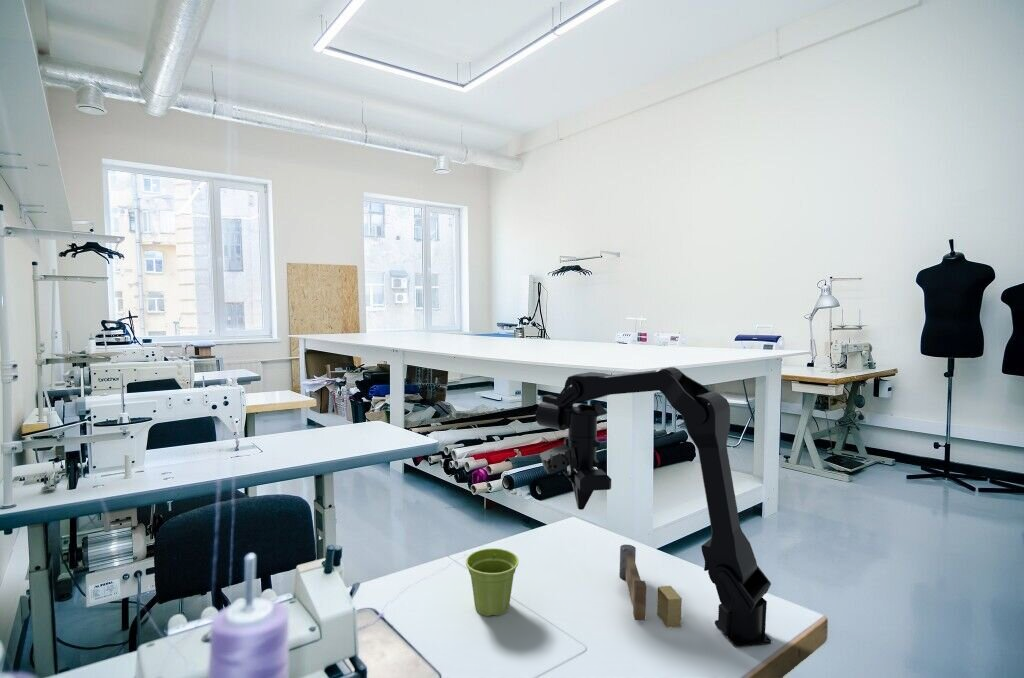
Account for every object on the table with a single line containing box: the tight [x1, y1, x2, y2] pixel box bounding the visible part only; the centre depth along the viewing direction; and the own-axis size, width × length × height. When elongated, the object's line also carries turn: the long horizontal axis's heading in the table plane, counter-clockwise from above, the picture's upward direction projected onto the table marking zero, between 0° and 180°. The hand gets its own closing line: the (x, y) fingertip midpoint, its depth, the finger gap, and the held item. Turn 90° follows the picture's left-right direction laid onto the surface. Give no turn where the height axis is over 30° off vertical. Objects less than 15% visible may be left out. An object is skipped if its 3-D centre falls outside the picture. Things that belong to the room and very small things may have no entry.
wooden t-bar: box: [626, 554, 647, 621], centre depth 96 cm, size 14×2×6 cm, turn 176°
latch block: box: [656, 585, 683, 629], centre depth 91 cm, size 2×4×5 cm, turn 10°
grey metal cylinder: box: [619, 544, 637, 581], centre depth 105 cm, size 3×3×6 cm
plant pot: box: [465, 547, 520, 617], centre depth 94 cm, size 9×9×9 cm
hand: (580, 508), depth 109 cm, fingers closed
